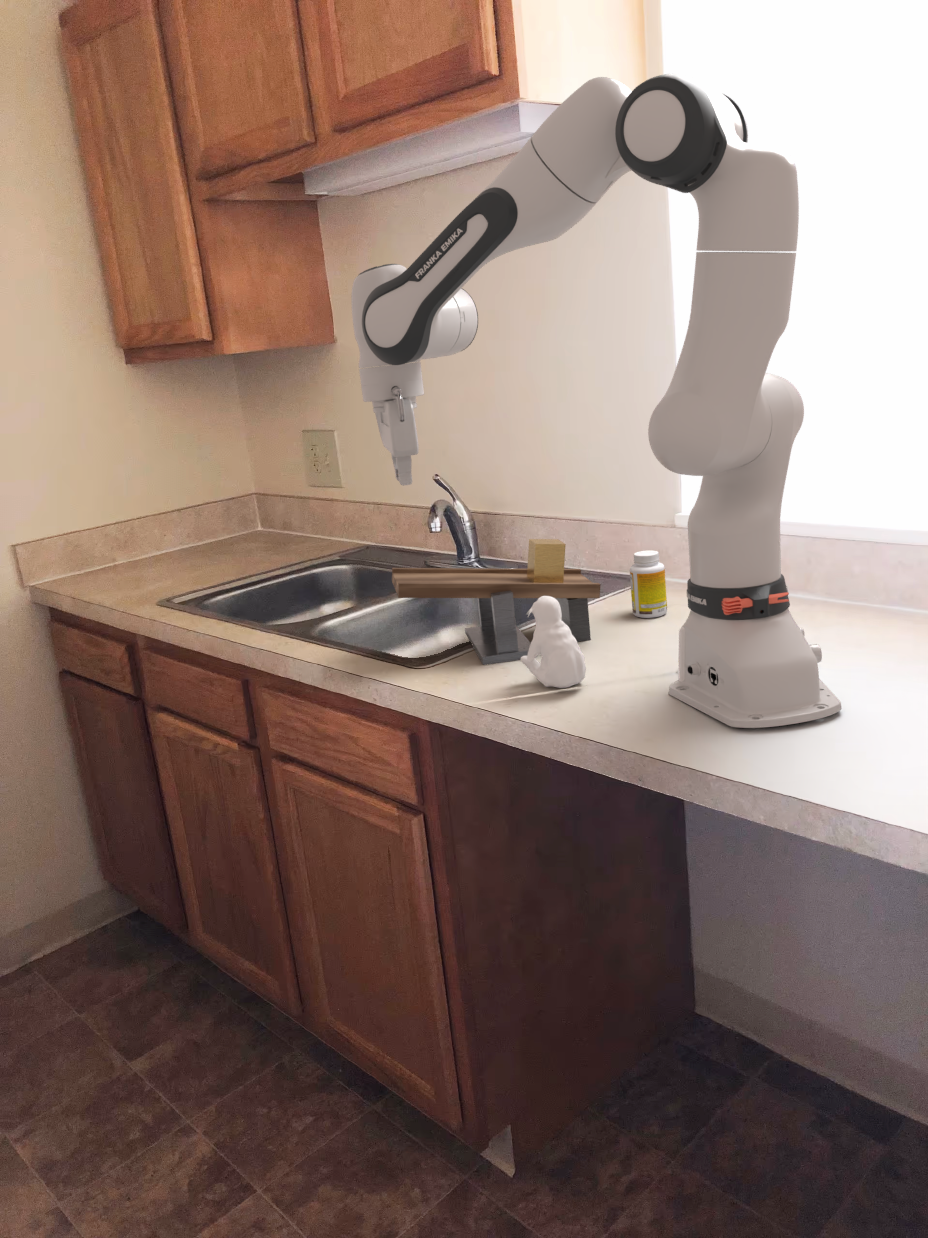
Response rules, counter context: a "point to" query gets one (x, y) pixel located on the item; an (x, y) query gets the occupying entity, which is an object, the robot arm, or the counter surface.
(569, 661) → the white seated figurine
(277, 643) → the counter surface
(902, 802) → the counter surface
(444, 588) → the beam
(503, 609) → the trestle
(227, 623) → the counter surface
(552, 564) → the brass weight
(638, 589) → the supplement bottle
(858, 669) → the counter surface
